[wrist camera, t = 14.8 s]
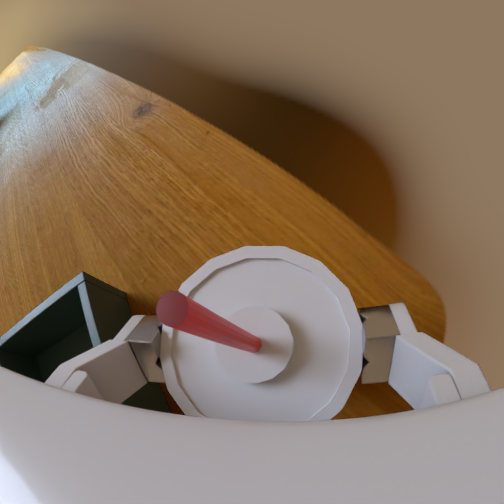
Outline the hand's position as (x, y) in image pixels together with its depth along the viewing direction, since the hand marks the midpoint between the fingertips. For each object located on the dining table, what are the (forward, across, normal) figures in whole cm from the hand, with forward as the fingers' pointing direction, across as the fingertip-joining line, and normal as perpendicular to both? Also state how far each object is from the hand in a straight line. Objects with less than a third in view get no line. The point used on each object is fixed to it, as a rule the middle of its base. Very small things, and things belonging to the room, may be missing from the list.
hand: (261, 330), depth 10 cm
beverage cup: (+5, 0, +6) cm, 8 cm away
